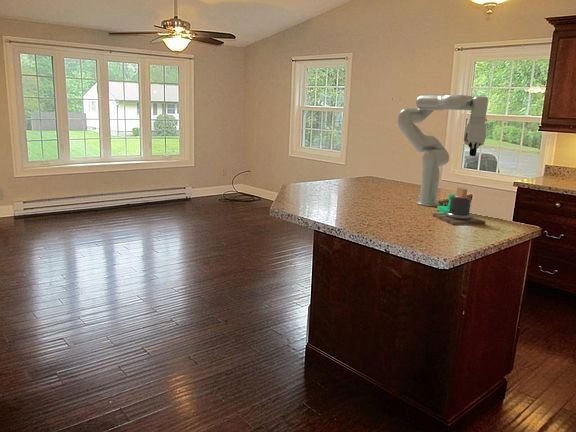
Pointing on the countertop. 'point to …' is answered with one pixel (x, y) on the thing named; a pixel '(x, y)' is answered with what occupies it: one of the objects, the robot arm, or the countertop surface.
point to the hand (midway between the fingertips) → (472, 155)
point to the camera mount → (445, 208)
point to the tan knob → (461, 193)
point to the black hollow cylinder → (459, 209)
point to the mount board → (453, 221)
